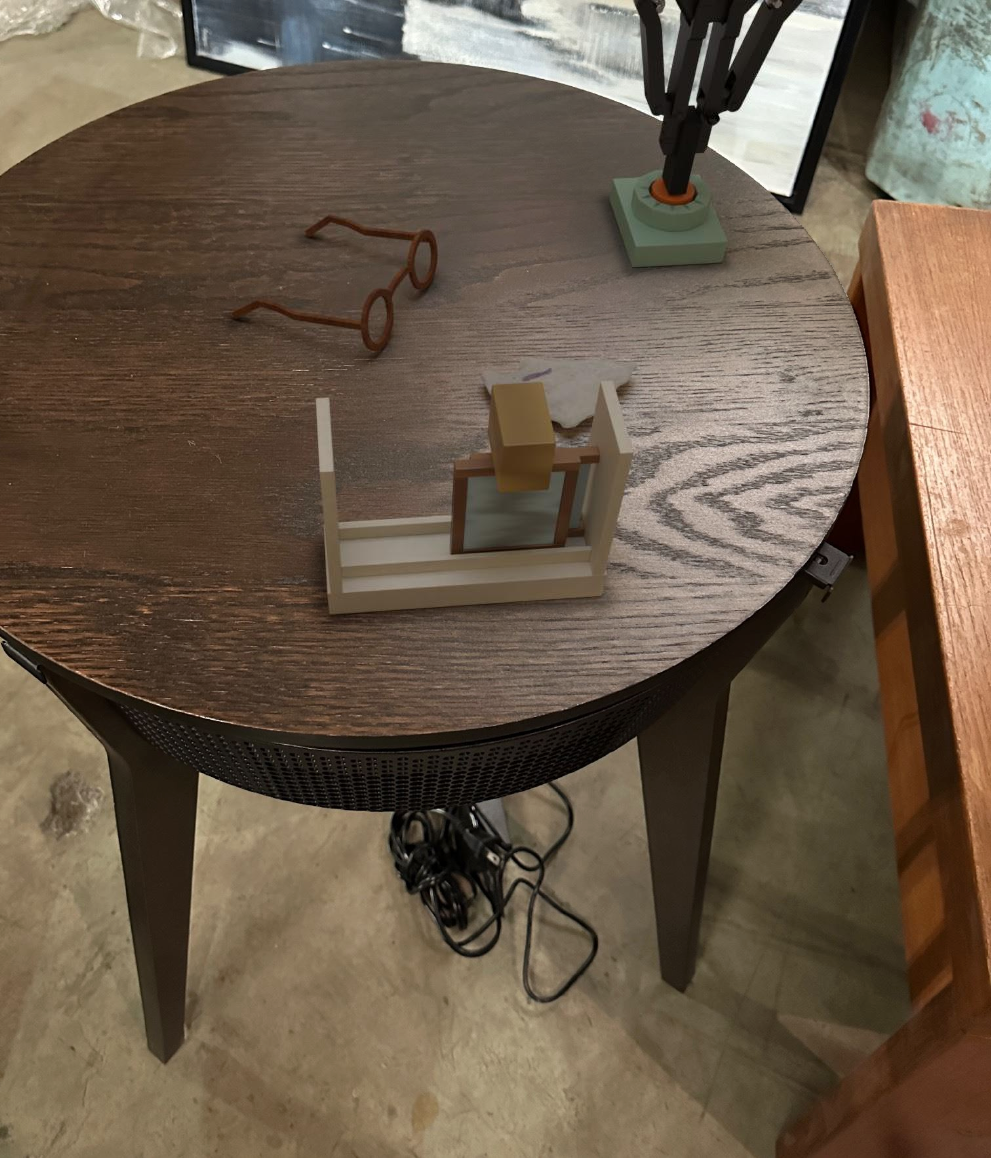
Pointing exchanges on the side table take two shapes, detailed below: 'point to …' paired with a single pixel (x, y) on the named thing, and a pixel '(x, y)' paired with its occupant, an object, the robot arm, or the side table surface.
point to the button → (662, 195)
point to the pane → (514, 480)
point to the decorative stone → (566, 384)
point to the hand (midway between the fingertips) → (673, 184)
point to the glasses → (386, 294)
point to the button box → (666, 224)
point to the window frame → (437, 579)
